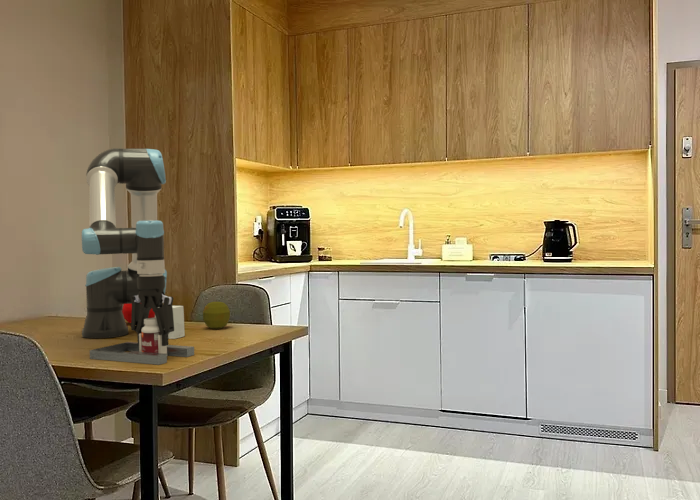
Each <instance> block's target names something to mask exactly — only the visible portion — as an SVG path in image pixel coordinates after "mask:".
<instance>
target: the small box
mask: <svg viewBox="0 0 700 500" xmlns="http://www.w3.org/2000/svg"><path fill="white" fill-rule="evenodd" d="M172 308H173V320H174V331H173V332H170V333H169V334H168V340H169V339H170V340H175V339H180V338H182V337H183V338H184V337H185V314H184V313H185V312H184V311H185V310H184V305H172ZM154 318H156V316H155V317H154Z"/></svg>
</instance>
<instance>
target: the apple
mask: <svg viewBox="0 0 700 500" xmlns="http://www.w3.org/2000/svg"><path fill="white" fill-rule="evenodd" d="M230 317H231V310H230V308H229V306H228V305H227V304H226V302H223V301H211V302H208V303H207V304H206V305H205V306H204V308H203V311H202V320H203V322H204V324H205V326H206V327H208V328H209V329H211V330H221V329H223V328H224V327H226V326H227V325H228V323H229V320H230V319H231V318H230Z"/></svg>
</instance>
